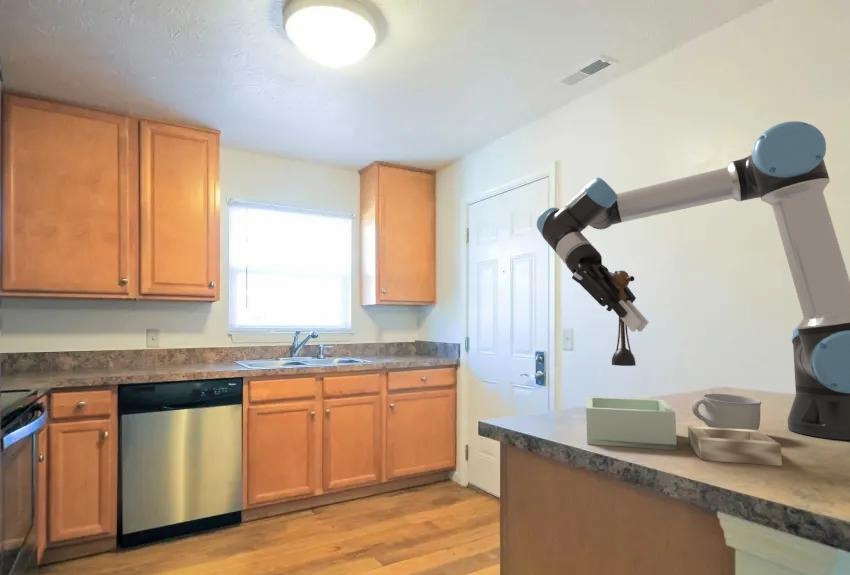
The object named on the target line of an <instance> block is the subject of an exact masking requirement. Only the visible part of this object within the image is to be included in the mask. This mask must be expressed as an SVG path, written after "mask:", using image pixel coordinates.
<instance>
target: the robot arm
mask: <svg viewBox="0 0 850 575" xmlns="http://www.w3.org/2000/svg"><path fill="white" fill-rule="evenodd" d="M826 151H827V142H826V138H825V136H824V134H823V133H822V131H821V130H819V128H818V127H816V126H814V125H812V124H810V123H807V122H805V121H799V120H797V121H796V120H795V121H794V120H793V121H784V122H781V123H777V124H776V125H774V126H771V127H769V128H768V129H766V130H765V131H764V132H762V134H761V135H760V136H759V137H758V138H757V139H756V141H755V142H754V144H753V146H752V150H751V154H750V155H748V156H747V157H743V158H740V159H738V160H737V159H736V160H733V161H730V162H729V163H728V165H727V166H726V167H722V168H717V169H714V170H710V171H706V172H702V173H698V174H694V175H690V176H686V177H681V178H677V179H672V180H668V181H666V182H665V181H664V182H661V183H657V184H652V185H648V186H644V187H639V188H637V189H632V190H627V191H624V192H619V193H617V192H616V191H615V190H614V189H613V188H612V187H611V186H610V185H609V184H608V183H607V182H606V181H605V180H603V178H601V177H595V178H594V179H592V180H591V181H590V182H589V183H587V184H586V185H585V186H584V187H583V188H582V189H581V190H580V191H579V192H578V193H576V195H575V196H573V197H572V198H571V200H569V201H568V202H567V203H566V204H565V205H564V206H562V207H561V208H558V207H549V208H548V209H545V210H544V211H542V212H541V213H540V215H539V216H538V218H537V220H536V228H537V230H538V232H539V233H540V235H541V236H542V238H543V239H544V241H545V242H546V243H548V245H549V246H550V248H552V250H553V252H555V253H556V255H557V256H558V257H559V258H560V259H561V260H562V262H563V263H564V265H566V267H567V268H568V269H569V271H570V272H571V274H573V275H572V276H571V279H572V280H574V281H575V282H576V283H578V284H579V285H580V286H581V287H582V288H583V290H585V291H586V292H587V293H588V294H589V295H590V296H591V297H592V298H593V299H594V300H595V301H596V302H597V303H598V304H599V305H600V306H602V307H605V306H607V307H606V311H608V312H612V310H613V311H614V313H616V315H617V316H618V318H619V317H620V318H621V319H622V320H623V322H624V324H626V325H627V329H629V330H630V331H631V332H636V331H638V332H642V331H643V330H644V329H645V328H646V327H647V325H648V324H649V321H648V319H646V317H645V316H644V315H643V314H642V313H641V311H640V310H639V309H638V308H637V306H635V305H634V302H635V301H636V300H637V298H636V296H635V295H634V293H633V292H632V291H631V289H630V288H629V287H628V286H629V285H628V286H627V287H625V288H624V293H626V303H625V302H624V301H623V300H620V301H619V299H618V293H620V288H617V287H616V286H615V284H614V276H615V274H616V273H617V272H618V271H619V270H615V271H614V272H611V271H609V268H607V266H605V265H604V264H603V263H602V262H603V261H602V260H603V259H602V258H603V257H602V254H601V253H600V252H599V251H598V250H597V249H596V248H595V247H594V245H592V243H591V242H590V241H589V240H588V239H587V238H586V236H584V235H583V233H582V232H583V231H584V230H585V229H586V228H587V227H588V226H590V228H593V229H595V230H596V229H597V230H600V231H601V230H605V229H608V228H610V227H612V225H617V224H621V223H625V222H629V221H634V220H638V219H644V218H648V217H653V216H657V215H662V214H667V213H671V212H675V211H680V210H685V209H690V208H695V207H700V206H703V205H708V204H713V203H717V202H719V203H720V202H722V201H728V200H734V201H737V202H743V201H749V200H754V199H759V198H760V201H762V202H765V203H766V204H768V205H771V207H772V210H773V214H774V217H775V221H776V223H777V227H778V231H779V235H780V238H781V241H782V243H781V244H782V246H783V250H784V253H785V256H786V260H787V263H788V266H789V267H788V268H789V271H790V273H791V277H792V281H793V285H794V288H795V292H796V296H797V299H798V302H799V305H800V309H801V312H802V316H803V319H802V320H801V322H800V323H799V324H798V325H797V326H796V327H795V328H794V329H793V331H792V337H791V343H792V346H793V364H794V366H793V368H794V384H795V385H794V386H795V395H794V399H793V401H792V405H791V406H790V407H791V408H790V410H789V413H788V417H787V429H788V430H789V431H791V432H794V433H798V434H801V435H805V436H811V437H817V438H818V437H819V438H824V439H833V440H841V441H842V440H843V441H850V278H849V274H848V271H847V267H846V265H845V261H844V257H843V253H842V251H841V248H840V244H839V241H838V238H837V234H836V231H835V227H834V224H833V221H832V217H831V214H830V210H829V208H828V204H827V201H826V198H825V194H824V190H825V189H826V187H827V186H828V184H830V182H831V179H830V176H829V173H828V170H827V166H826V163H825V159H824V158H825V157H826V153H827V152H826ZM618 301H619V302H618Z"/></svg>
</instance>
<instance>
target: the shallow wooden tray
mask: <svg viewBox="0 0 850 575" xmlns="http://www.w3.org/2000/svg"><path fill="white" fill-rule="evenodd" d="M687 435H688V436H687V440H688V445H689V446H690V448H691V449H692V451H693V452H694V453H695V454H696V455H697V457H698V458H699V459H700V460H701V461H711V462H712V461H713V462H725V463H739V464H753V465H764V466H765V465H766V466H780V467H781V466H783V462H782V461H783V459H782V445H781V443H780V442H777V440H774V439H773V438H771V437H770V436H768V435H766V434H765V433H764V432H762V431H761V430H759V429H758V430H750V429H732V428H714V427H708V426H697V425H696V426H695V425H694V426H693V425H688V426H687Z"/></svg>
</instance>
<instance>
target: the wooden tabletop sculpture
mask: <svg viewBox="0 0 850 575" xmlns="http://www.w3.org/2000/svg"><path fill="white" fill-rule="evenodd" d="M617 271H618V272H617V273H616V274H615V276H614V284H615V286H616V287H617V288H620V293H618V299H619V301H620V300H623V301H624V302H625V303H626V293H624V288H625V287H627V286H629V284H630V282H634V281H635V276H633V275H629V273H628V272H627V271H625V270H617ZM619 301H618V302H619ZM617 330H618V335H617V343H616V350H615V352H614V353H613V355H612V357H611V365H612V366H621V367H622V366H623V367H635V366H636V365H637V364H636V358H635V356H634V353H632V350H631V345H630V341H629V340H630V339H629V334H628V333H629V332H628V326H627V325H626V324H625V323H624V322H623V320H622V319H621V318H620V317H619V316H618V329H617ZM626 343H627V345H626ZM619 344H620V345H619ZM619 346H620V348H619ZM627 347H628V348H627Z"/></svg>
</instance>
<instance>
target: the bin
mask: <svg viewBox="0 0 850 575" xmlns="http://www.w3.org/2000/svg"><path fill="white" fill-rule="evenodd" d="M585 407H586V408H585V411H586V412H585V413H586V444H587V445H594V446H595V445H597V446H612V447H625V448H636V449H638V448H639V449H651V450H653V449H654V450H667V451H677V450H678V449H677V448H678V446H677V425H676V411H675V410H674V409H673V408H672V407H671V406H670V405H669V404H668V402H666V401H665V400H664V399H648V398H647V399H646V398H627V397H625V398H623V397H622V398H621V397H620V398H619V397H599V396H597V397H596V396H594V397H593V396H587V397H586V406H585Z"/></svg>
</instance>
